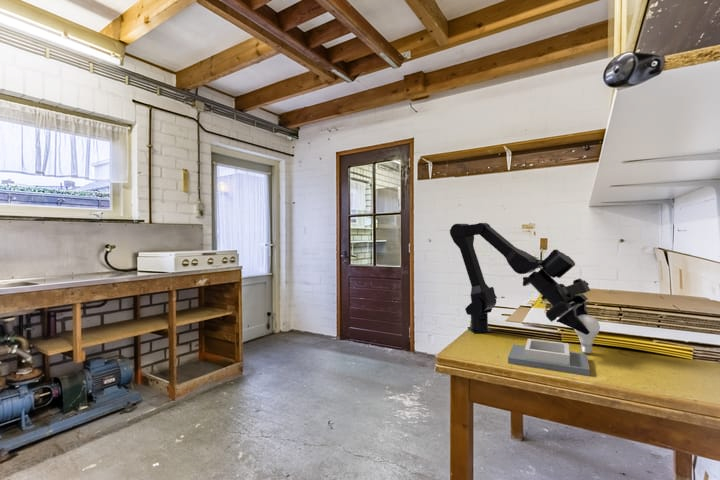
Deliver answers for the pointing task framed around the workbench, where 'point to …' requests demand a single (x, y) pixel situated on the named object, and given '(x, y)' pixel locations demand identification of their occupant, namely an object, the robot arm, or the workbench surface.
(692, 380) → the workbench surface
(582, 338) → the lightbulb
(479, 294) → the robot arm
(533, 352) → the holder
